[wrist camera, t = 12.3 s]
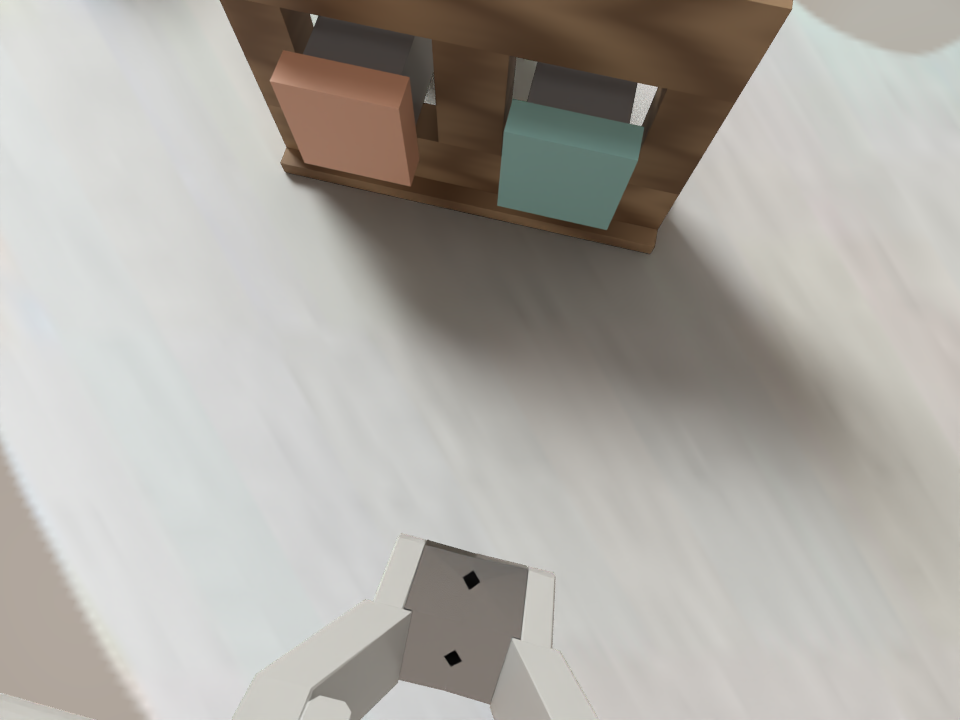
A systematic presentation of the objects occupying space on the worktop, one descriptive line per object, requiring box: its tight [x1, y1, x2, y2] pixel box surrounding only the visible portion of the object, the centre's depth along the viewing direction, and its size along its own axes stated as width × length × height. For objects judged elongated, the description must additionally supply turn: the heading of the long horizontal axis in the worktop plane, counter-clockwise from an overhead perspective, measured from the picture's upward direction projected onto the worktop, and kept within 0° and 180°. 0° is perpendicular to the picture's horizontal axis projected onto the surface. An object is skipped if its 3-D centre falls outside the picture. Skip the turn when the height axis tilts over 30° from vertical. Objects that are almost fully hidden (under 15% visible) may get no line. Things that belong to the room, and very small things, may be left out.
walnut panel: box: [220, 0, 793, 254], centre depth 26 cm, size 20×5×14 cm, turn 77°
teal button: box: [497, 62, 644, 230], centre depth 25 cm, size 5×8×5 cm, turn 166°
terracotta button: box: [270, 16, 434, 187], centre depth 26 cm, size 5×8×5 cm, turn 166°
